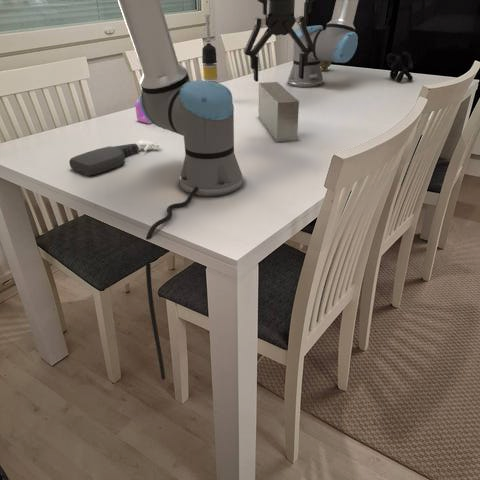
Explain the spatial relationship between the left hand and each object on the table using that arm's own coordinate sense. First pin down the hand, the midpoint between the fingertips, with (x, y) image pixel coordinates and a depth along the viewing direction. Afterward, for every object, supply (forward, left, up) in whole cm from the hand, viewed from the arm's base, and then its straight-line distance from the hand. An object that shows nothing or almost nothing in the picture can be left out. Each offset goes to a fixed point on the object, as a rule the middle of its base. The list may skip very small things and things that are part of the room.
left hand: (278, 79), depth 131 cm
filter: (+35, +37, -17) cm, 54 cm away
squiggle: (+88, -33, -17) cm, 95 cm away
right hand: (+33, +7, +11) cm, 35 cm away
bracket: (+6, +46, -17) cm, 49 cm away
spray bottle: (-33, +37, -17) cm, 52 cm away
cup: (+100, +4, -17) cm, 101 cm away
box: (+7, +2, -17) cm, 18 cm away
